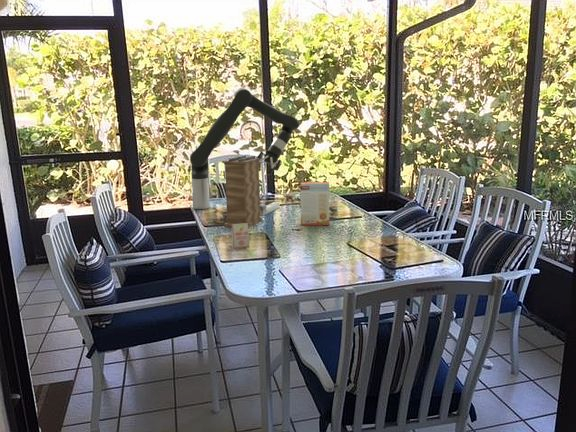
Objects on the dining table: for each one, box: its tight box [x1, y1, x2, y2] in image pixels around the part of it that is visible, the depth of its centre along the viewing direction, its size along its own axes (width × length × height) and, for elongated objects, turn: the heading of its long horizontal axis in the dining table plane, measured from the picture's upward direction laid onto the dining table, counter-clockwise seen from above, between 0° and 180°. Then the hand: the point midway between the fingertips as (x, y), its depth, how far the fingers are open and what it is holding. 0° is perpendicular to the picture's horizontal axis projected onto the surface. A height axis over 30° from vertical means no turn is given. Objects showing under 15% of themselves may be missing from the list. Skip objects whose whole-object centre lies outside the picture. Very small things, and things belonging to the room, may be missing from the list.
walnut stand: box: [223, 155, 264, 229], centre depth 247 cm, size 18×12×33 cm, turn 157°
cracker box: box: [300, 181, 330, 226], centre depth 245 cm, size 14×6×21 cm, turn 84°
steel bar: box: [260, 201, 281, 217], centre depth 277 cm, size 22×4×5 cm, turn 157°
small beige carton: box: [230, 223, 250, 249], centre depth 210 cm, size 4×7×10 cm, turn 105°
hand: (262, 171), depth 278 cm, fingers open, 8 cm apart
